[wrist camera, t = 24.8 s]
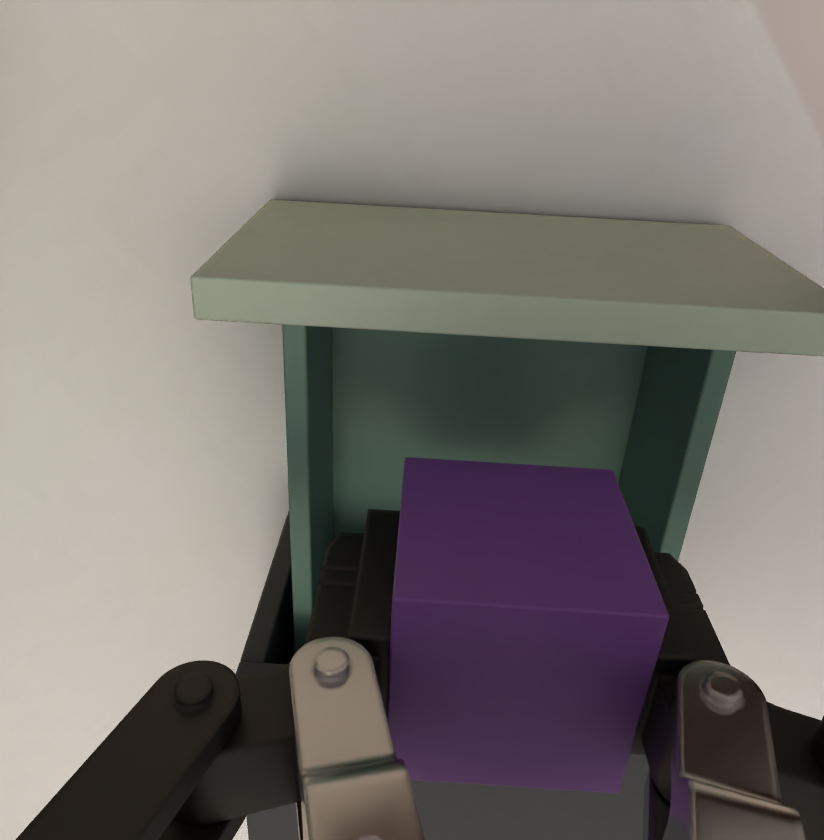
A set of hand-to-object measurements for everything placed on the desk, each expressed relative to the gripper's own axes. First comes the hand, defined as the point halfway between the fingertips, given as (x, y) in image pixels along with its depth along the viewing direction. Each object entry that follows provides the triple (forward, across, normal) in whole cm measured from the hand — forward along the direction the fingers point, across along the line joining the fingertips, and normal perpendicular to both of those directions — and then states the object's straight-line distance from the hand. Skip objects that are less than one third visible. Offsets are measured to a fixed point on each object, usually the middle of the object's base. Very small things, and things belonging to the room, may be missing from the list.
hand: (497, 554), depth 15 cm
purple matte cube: (0, 0, 0) cm, 0 cm away
